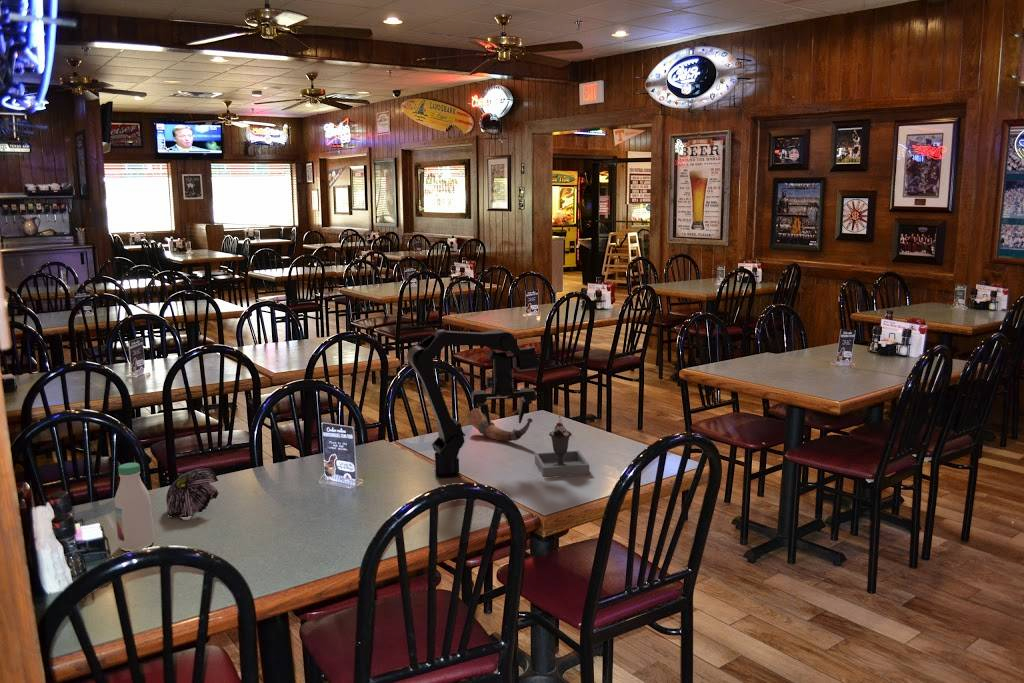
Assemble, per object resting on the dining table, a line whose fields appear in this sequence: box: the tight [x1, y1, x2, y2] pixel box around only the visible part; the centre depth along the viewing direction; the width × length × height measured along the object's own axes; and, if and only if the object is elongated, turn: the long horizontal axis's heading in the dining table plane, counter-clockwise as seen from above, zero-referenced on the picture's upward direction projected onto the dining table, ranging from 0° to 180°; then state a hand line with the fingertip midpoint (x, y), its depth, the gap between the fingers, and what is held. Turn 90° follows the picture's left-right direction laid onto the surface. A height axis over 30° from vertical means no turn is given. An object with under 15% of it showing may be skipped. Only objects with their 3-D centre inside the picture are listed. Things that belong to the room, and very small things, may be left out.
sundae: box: [548, 415, 572, 466], centre depth 244 cm, size 7×7×15 cm
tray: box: [534, 450, 590, 478], centre depth 246 cm, size 14×14×3 cm
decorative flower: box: [165, 467, 219, 518], centre depth 218 cm, size 15×12×15 cm
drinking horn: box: [465, 407, 534, 442], centre depth 274 cm, size 5×29×10 cm, turn 46°
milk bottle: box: [114, 462, 155, 550], centre depth 195 cm, size 8×8×20 cm
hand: (504, 423), depth 247 cm, fingers open, 9 cm apart
